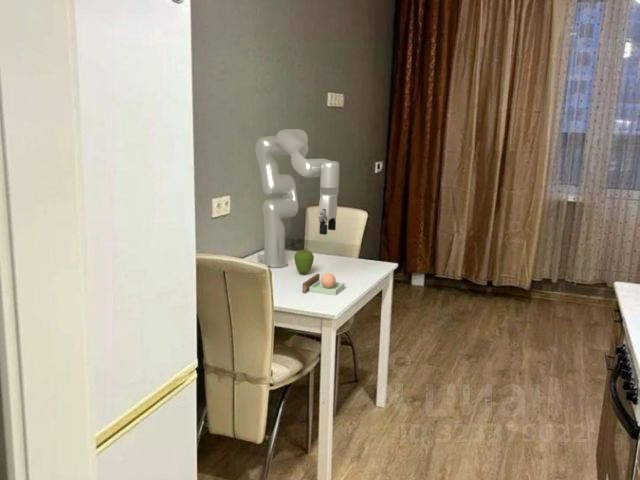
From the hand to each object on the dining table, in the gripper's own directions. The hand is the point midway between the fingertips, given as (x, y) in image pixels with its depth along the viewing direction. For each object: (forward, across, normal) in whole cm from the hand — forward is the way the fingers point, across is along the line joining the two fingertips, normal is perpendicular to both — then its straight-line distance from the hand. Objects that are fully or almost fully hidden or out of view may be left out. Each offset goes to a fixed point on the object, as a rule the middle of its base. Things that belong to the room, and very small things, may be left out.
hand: (327, 232), depth 251 cm
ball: (+21, +9, +4) cm, 23 cm away
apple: (+23, -10, -14) cm, 29 cm away
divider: (+22, +9, -3) cm, 24 cm away
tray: (+22, +9, +4) cm, 24 cm away
